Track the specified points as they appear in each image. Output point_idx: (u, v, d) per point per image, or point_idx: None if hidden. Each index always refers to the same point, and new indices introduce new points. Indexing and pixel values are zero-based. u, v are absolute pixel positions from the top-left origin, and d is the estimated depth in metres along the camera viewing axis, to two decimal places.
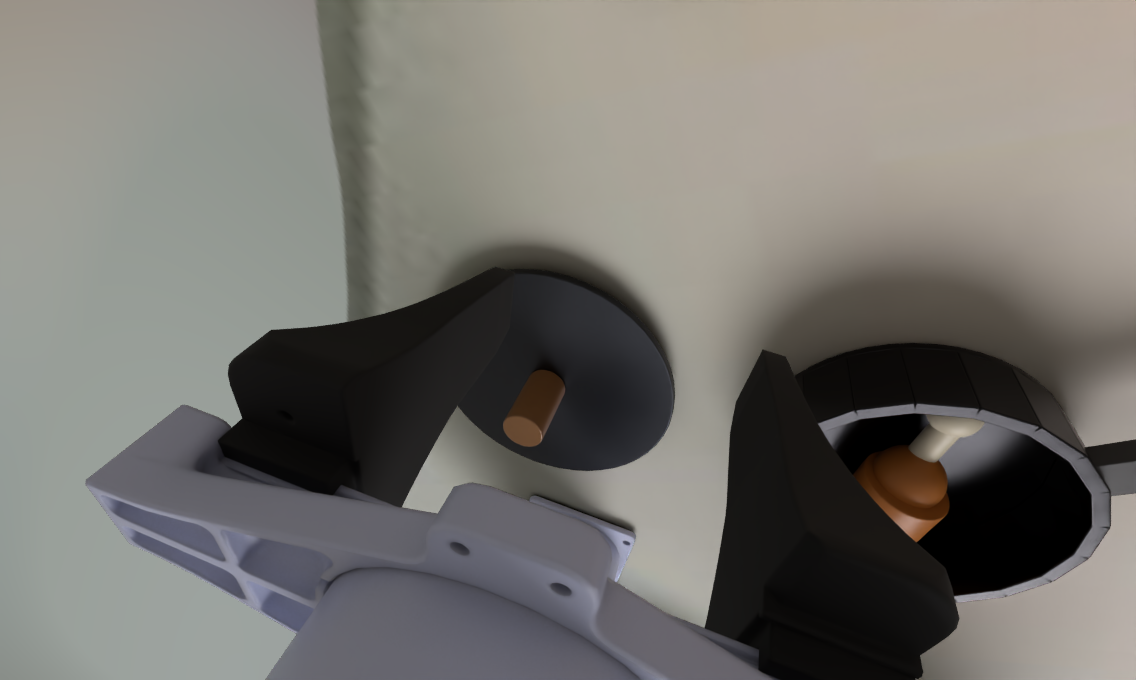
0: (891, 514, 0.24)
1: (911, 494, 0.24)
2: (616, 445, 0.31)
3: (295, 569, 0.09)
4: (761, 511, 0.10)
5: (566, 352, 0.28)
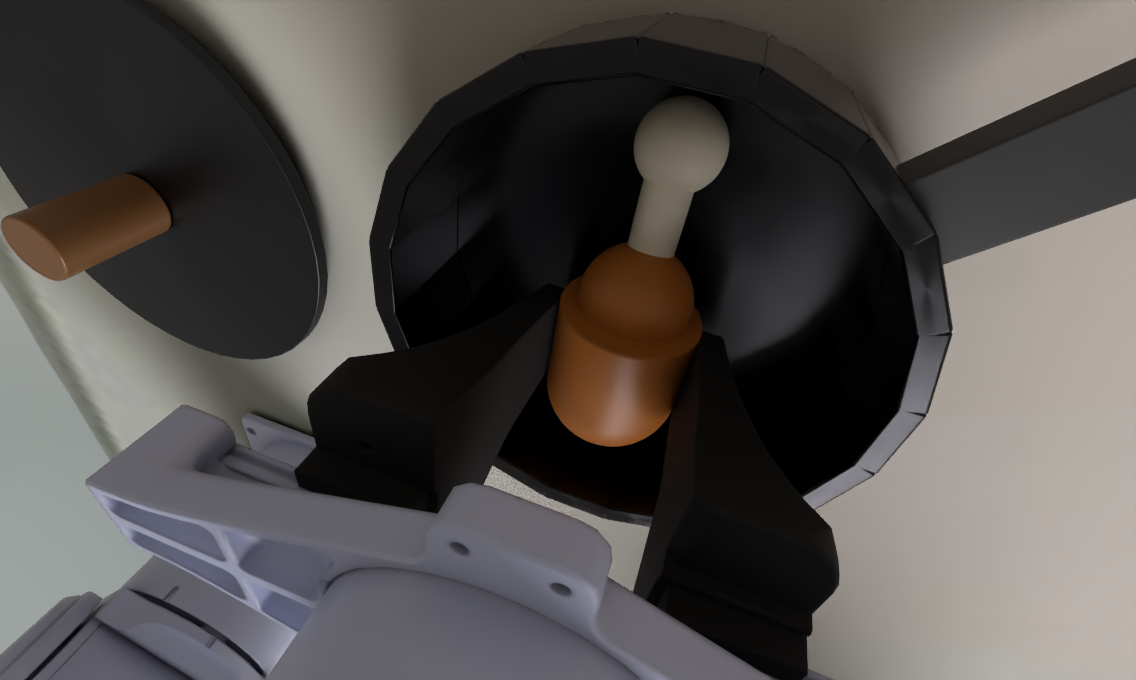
0: (583, 353, 0.13)
1: (613, 312, 0.13)
2: (274, 306, 0.20)
3: (295, 569, 0.09)
4: (677, 481, 0.11)
5: (133, 131, 0.17)
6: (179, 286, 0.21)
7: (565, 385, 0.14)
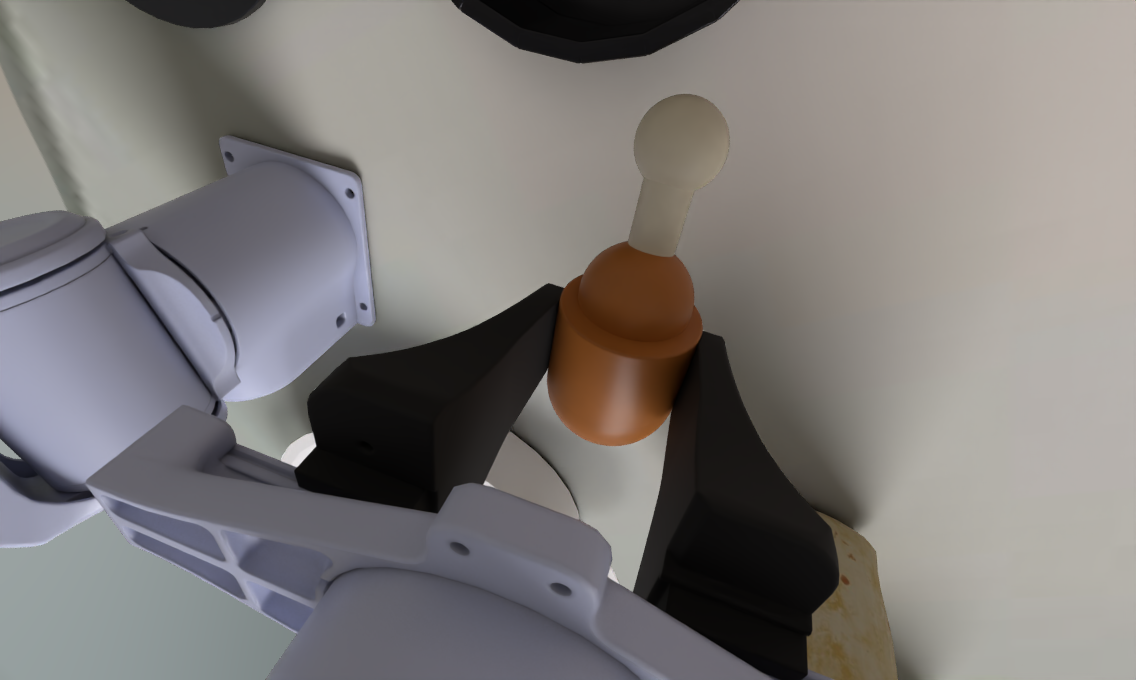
0: (583, 353, 0.13)
1: (613, 311, 0.13)
2: None
3: (295, 568, 0.09)
4: (677, 481, 0.10)
5: None
6: None
7: (565, 384, 0.14)
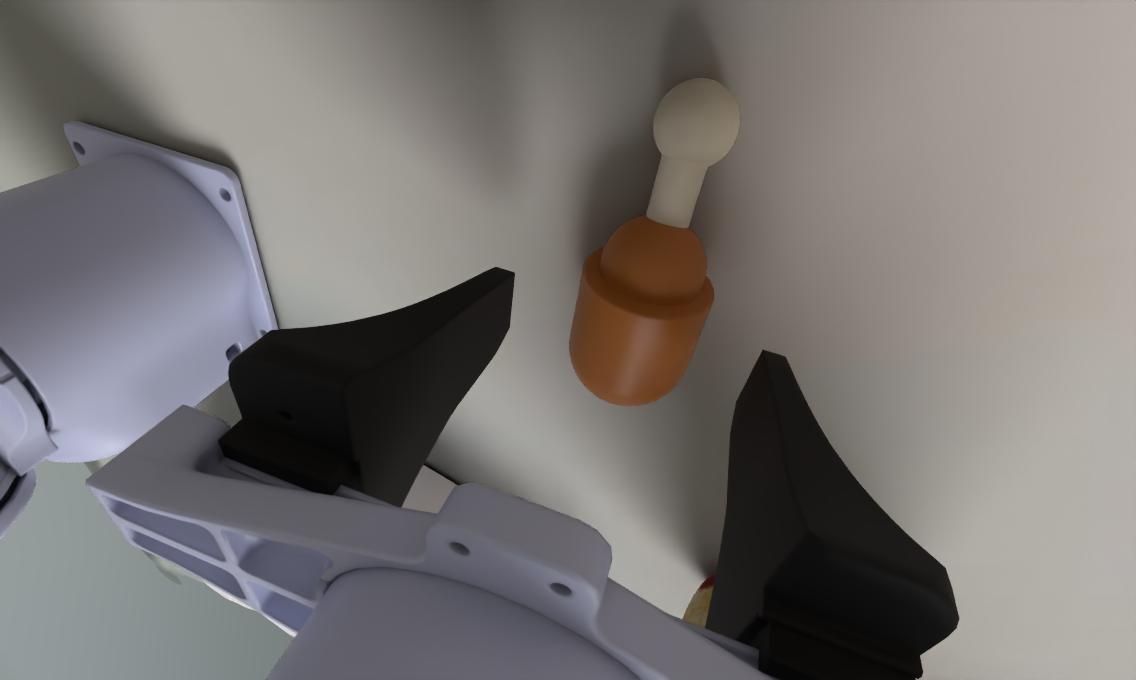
0: (606, 315, 0.14)
1: (634, 276, 0.14)
2: None
3: (295, 568, 0.09)
4: (761, 511, 0.10)
5: None
6: None
7: (588, 347, 0.15)
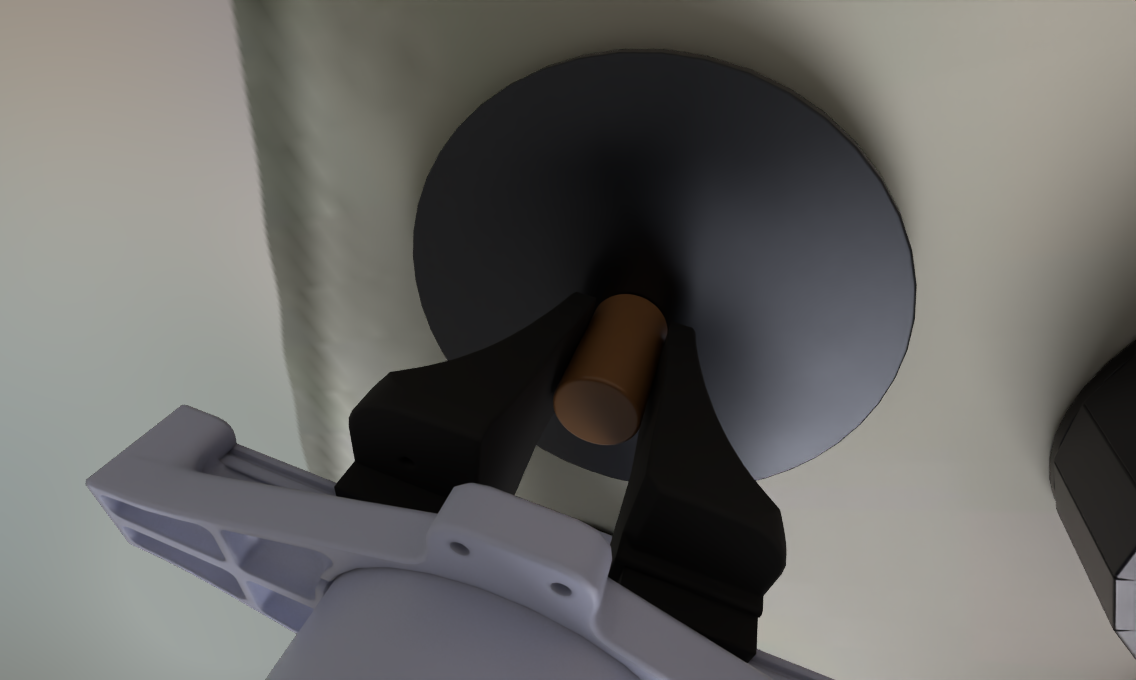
0: None
1: None
2: (753, 442, 0.17)
3: (295, 569, 0.09)
4: (638, 467, 0.11)
5: (680, 251, 0.14)
6: None
7: None
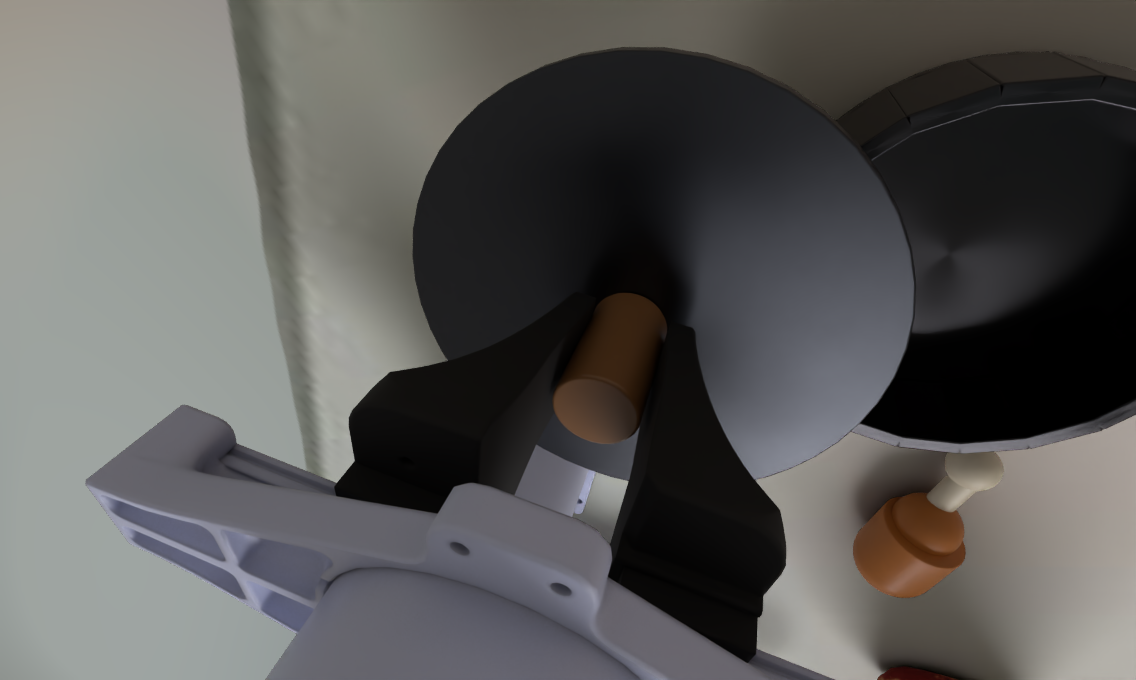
0: (909, 561, 0.25)
1: (929, 542, 0.24)
2: (753, 441, 0.17)
3: (295, 569, 0.09)
4: (638, 467, 0.11)
5: (680, 249, 0.14)
6: None
7: (886, 569, 0.26)
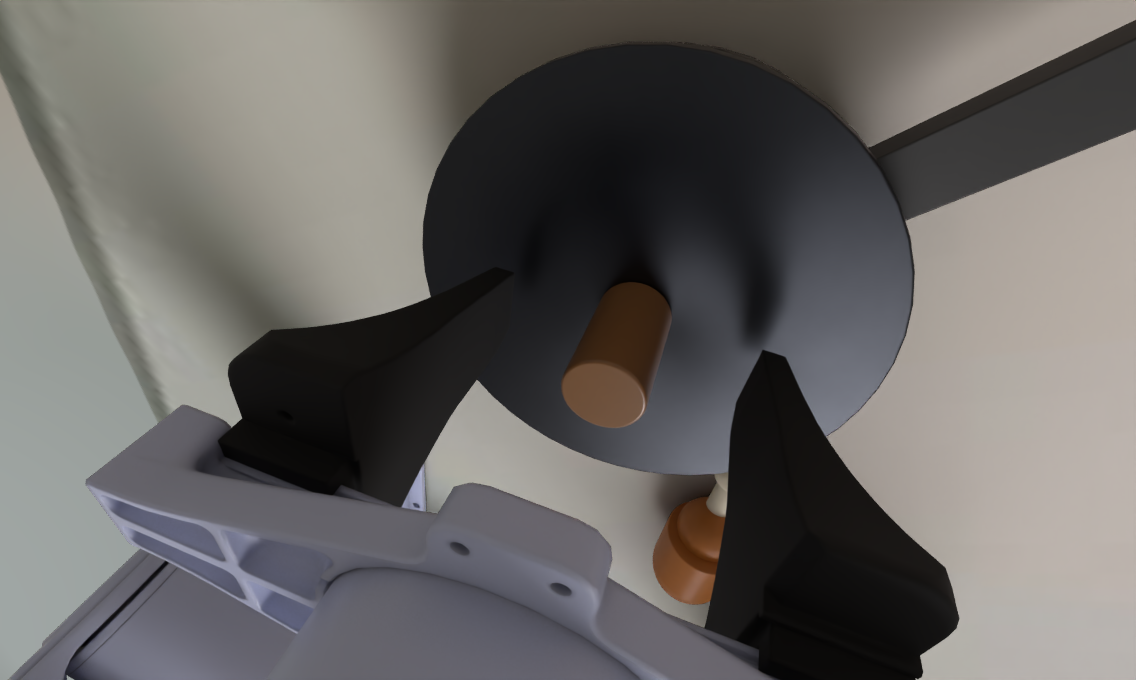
0: (683, 567, 0.24)
1: (700, 548, 0.24)
2: None
3: (295, 568, 0.09)
4: (761, 511, 0.10)
5: (685, 239, 0.14)
6: None
7: (670, 576, 0.25)
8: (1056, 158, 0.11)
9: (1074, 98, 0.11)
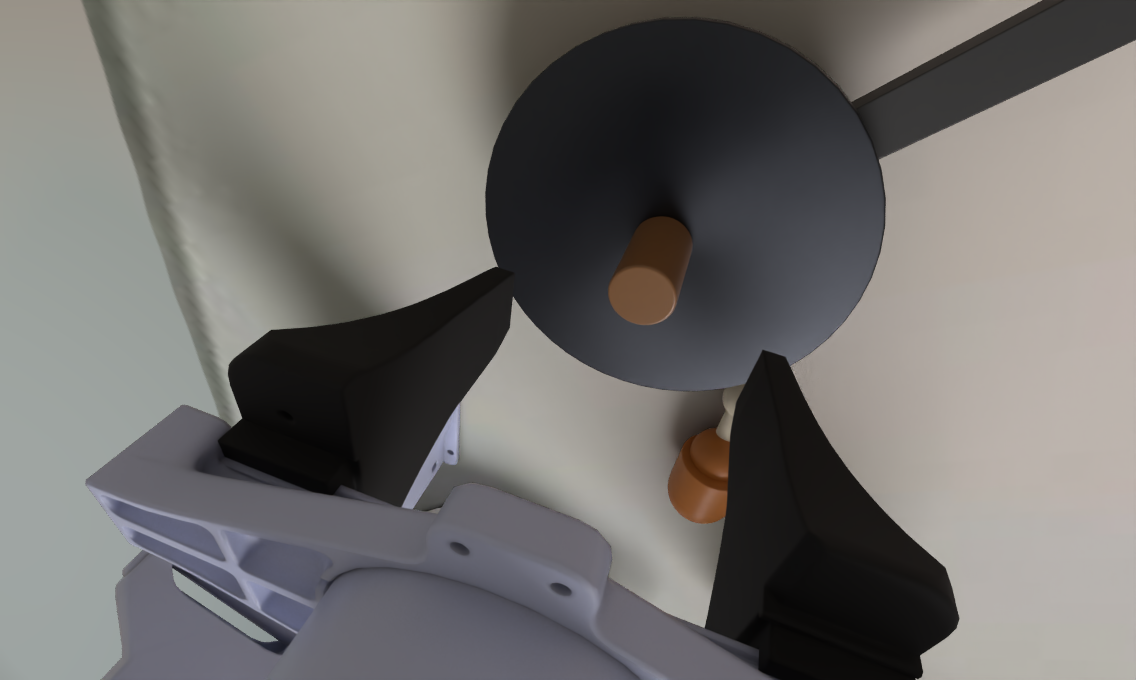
0: (696, 486, 0.28)
1: (711, 468, 0.27)
2: (760, 343, 0.21)
3: (295, 569, 0.09)
4: (761, 511, 0.10)
5: (705, 177, 0.18)
6: None
7: (683, 496, 0.29)
8: (990, 105, 0.15)
9: (1001, 57, 0.14)
